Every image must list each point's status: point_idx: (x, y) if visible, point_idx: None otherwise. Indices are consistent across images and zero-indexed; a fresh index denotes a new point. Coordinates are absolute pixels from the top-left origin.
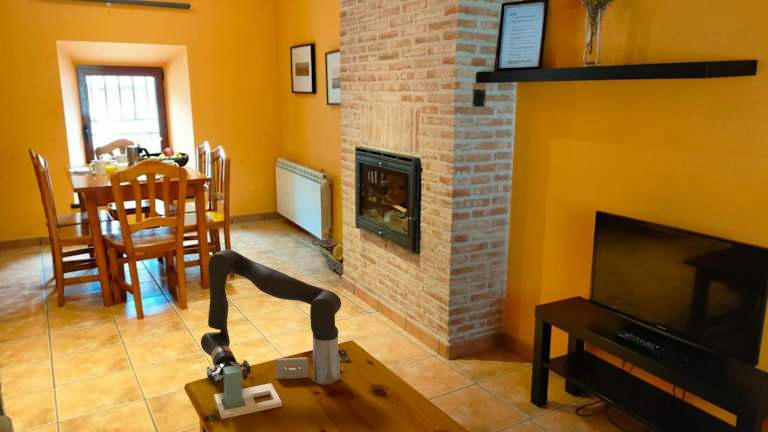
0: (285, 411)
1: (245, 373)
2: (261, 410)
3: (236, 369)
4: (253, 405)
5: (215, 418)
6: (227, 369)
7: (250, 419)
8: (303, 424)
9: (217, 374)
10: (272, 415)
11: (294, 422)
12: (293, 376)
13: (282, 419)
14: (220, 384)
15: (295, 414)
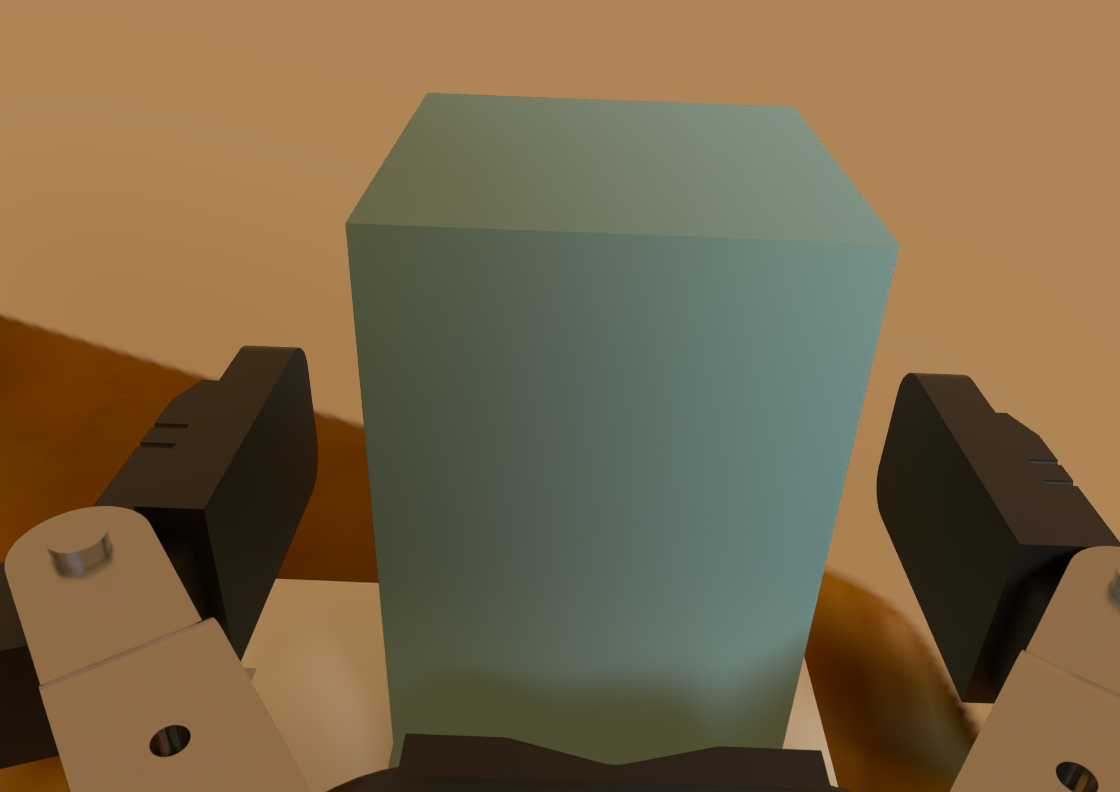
0: (33, 518)
1: (240, 364)
2: None
3: (503, 133)
4: (315, 633)
5: (864, 692)
6: (747, 175)
7: None
8: (83, 350)
9: (1058, 583)
10: None
11: (119, 383)
12: None
13: None
14: (881, 476)
15: (3, 452)
